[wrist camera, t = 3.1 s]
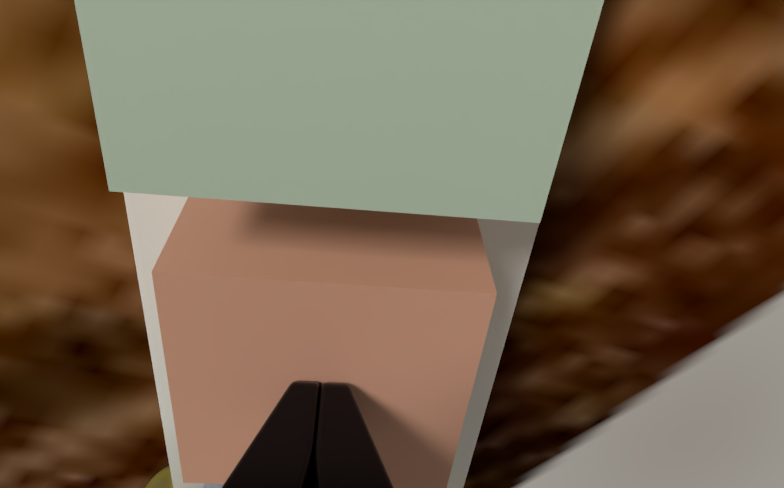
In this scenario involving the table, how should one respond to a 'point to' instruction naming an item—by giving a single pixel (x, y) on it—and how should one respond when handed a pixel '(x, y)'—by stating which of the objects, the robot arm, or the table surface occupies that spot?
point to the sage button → (339, 100)
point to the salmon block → (321, 326)
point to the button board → (508, 265)
